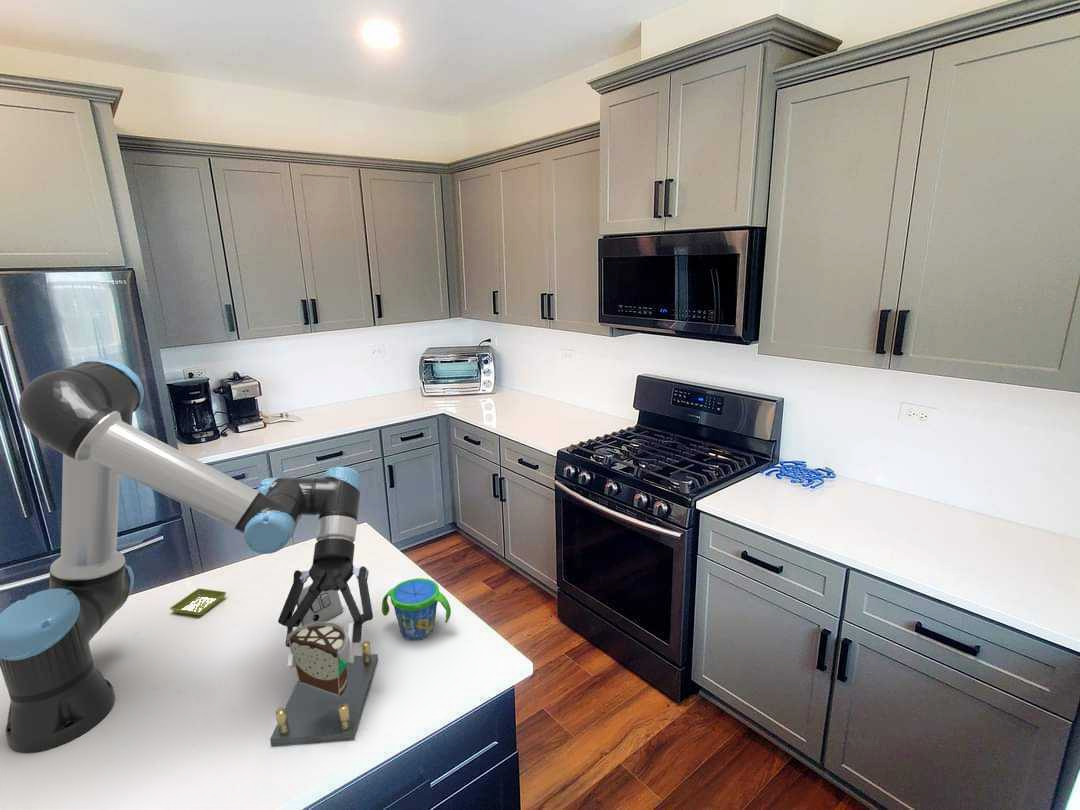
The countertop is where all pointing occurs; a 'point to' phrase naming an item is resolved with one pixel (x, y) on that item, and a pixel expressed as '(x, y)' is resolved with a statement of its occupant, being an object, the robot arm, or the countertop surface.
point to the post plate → (326, 707)
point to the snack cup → (416, 606)
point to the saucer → (194, 596)
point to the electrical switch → (321, 606)
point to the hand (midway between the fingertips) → (320, 664)
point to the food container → (321, 656)
